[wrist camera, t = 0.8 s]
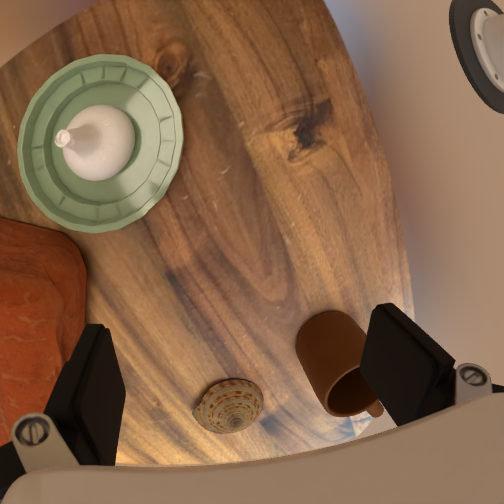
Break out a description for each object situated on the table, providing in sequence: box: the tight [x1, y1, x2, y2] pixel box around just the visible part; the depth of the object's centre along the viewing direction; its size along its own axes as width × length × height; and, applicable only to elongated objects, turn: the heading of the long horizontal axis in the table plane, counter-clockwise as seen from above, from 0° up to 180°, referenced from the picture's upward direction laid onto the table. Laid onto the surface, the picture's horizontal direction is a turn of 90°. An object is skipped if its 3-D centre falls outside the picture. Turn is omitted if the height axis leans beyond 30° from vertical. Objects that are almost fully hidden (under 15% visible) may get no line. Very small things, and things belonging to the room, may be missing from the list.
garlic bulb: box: [55, 104, 135, 181], centre depth 20 cm, size 6×6×8 cm
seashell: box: [192, 380, 263, 434], centre depth 35 cm, size 8×6×8 cm
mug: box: [296, 312, 384, 417], centre depth 31 cm, size 12×8×9 cm, turn 36°
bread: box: [0, 218, 87, 446], centre depth 23 cm, size 16×27×11 cm, turn 164°
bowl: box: [17, 54, 185, 234], centre depth 22 cm, size 14×14×4 cm
